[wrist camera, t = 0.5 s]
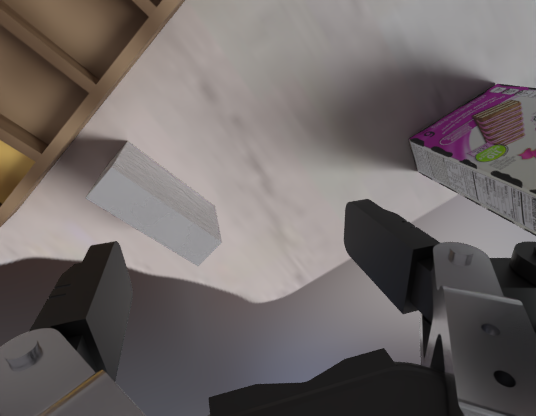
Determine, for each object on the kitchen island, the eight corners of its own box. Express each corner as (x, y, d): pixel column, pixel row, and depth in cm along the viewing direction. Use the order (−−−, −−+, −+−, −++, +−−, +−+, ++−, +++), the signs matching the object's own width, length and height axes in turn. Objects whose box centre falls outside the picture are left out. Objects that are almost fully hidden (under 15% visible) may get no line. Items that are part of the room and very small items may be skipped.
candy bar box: (496, 79, 33) (734, 103, 19) (502, 120, 35) (715, 169, 21) (404, 137, 33) (566, 204, 19) (415, 173, 36) (566, 256, 22)
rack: (31, -308, 16) (1, -376, 14) (228, -54, 23) (233, -67, 20) (-201, 98, 21) (-255, 105, 19) (15, 212, 28) (-2, 229, 25)
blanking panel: (128, 140, 27) (111, 167, 21) (214, 205, 32) (221, 242, 26) (107, 165, 28) (85, 198, 22) (195, 225, 33) (198, 266, 26)
